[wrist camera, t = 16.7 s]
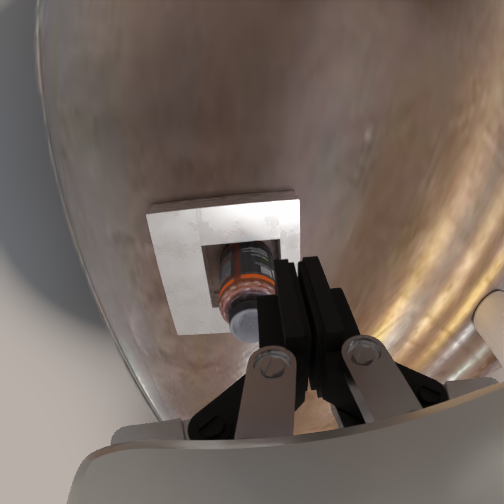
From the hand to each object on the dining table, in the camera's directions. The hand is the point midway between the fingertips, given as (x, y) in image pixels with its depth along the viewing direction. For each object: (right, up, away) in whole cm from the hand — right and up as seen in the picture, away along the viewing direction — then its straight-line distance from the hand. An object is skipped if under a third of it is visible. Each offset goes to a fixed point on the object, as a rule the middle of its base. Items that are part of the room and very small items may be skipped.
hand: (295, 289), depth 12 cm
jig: (-4, 0, +24) cm, 24 cm away
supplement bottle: (-2, +1, +24) cm, 24 cm away
